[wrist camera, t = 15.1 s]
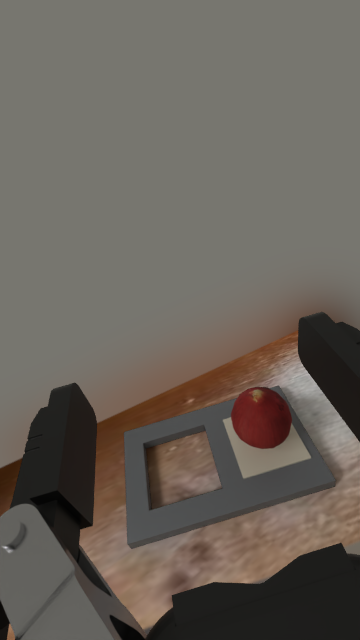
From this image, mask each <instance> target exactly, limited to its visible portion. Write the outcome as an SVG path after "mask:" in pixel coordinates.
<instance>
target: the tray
mask: <svg viewBox="0 0 360 640" xmlns="http://www.w3.org/2000/svg"><path fill="white" fill-rule="evenodd" d="M269 389H271V390H273V391H275V392H277V393H278V394H279V395H280V396H281V397H282V398H283V399H284V400H285V401H286V403H287V404H288V406H289V409H290V413H291V417H292V423H291V428H290V433H289V435H288V437H287V438H286V439H285V441H284V442H283V443H281V444H280V445H278V446H276V447H274V448H270V449H259V448H255V447H252V446H250V445H248V444H247V443H245V442H243V441H242V440H241V439H240V438H239V437H238V435H237V434H236V433H235V431H234V428H233V425H232V420H231V412H232V409H233V406H234V402H235V401H236V399H237V398H236V399H233V400H229V401H226V402H223V403H219V404H216V405H213V406H209V407H206V408H203V409H199V410H196V411H193V412H189V413H186V414H183V415H180V416H176V417H173V418H170V419H166V420H163V421H160V422H156V423H153V424H150V425H146V426H143V427H140V428H136V429H133V430H130V431H126V432H124V446H125V479H126V511H127V543H128V545H129V546H130V547H131V549H132V548H136V547H139V546H142V545H145V544H149V543H152V542H155V541H159V540H162V539H165V538H168V537H172V536H175V535H178V534H181V533H185V532H188V531H191V530H194V529H198V528H201V527H204V526H207V525H211V524H214V523H217V522H220V521H224V520H227V519H230V518H234V517H237V516H240V515H243V514H247V513H250V512H253V511H256V510H260V509H263V508H266V507H269V506H273V505H276V504H279V503H282V502H286V501H289V500H292V499H295V498H299V497H302V496H305V495H309V494H312V493H315V492H318V491H322V490H325V489H328V488H331V487H335V482H336V480H335V478H334V477H333V475H332V473H331V472H330V470H329V468H328V467H327V465H326V463H325V462H324V460H323V458H322V457H321V455H320V453H319V452H318V450H317V448H316V447H315V445H314V443H313V442H312V440H311V438H310V437H309V435H308V433H307V432H306V430H305V428H304V427H303V425H302V423H301V422H300V420H299V418H298V417H297V415H296V413H295V412H294V410H293V408H292V407H291V405H290V403H289V402H288V400H287V398H286V397H285V395H284V393H283V392H282V390H281V388H280V387H279V386H276V387H272V388H269ZM205 430H206V433H207V436H208V440H209V443H210V447H211V450H212V454H213V457H214V461H215V464H216V468H217V471H218V475H219V478H220V482H221V485H222V489H219V490H215V491H212V492H209V493H206V494H202V495H199V496H196V497H192V498H189V499H186V500H183V501H179V502H176V503H173V504H170V505H166V506H163V507H160V508H156V509H153V510H152V508H151V497H150V486H149V476H148V465H147V455H146V448H149V447H153V446H156V445H159V444H162V443H166V442H169V441H172V440H176V439H179V438H182V437H186V436H189V435H192V434H195V433H199V432H202V431H205Z"/></svg>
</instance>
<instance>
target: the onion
mask: <svg viewBox="0 0 360 640" xmlns="http://www.w3.org/2000/svg"><path fill="white" fill-rule="evenodd" d="M231 420H232V425H233V428H234V431H235V433H236V434H237V435H238V437H239V438H240V439H241V440H242V441H243V442H245V443H247V444H248V445H250V446H252V447H255V448H259V449H270V448H274V447H276V446H278V445H280V444H281V443H283V442H284V441H285V439H286V438H287V437H288V435H289V433H290V428H291V423H292V417H291V413H290V409H289V406H288V404H287V403H286V401H285V400H284V399H283V398H282V397H281V396H280V395H279V394H278V393H277V392H275V391H273V390H271V389H269V388H266V387H254V388H250V389H247V390H246V391H244V392H242V393H241V394H240V395H239V397H238V398H237V399H236V401H235V402H234V406H233V409H232V412H231Z"/></svg>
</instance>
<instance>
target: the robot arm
mask: <svg viewBox="0 0 360 640" xmlns="http://www.w3.org/2000/svg"><path fill="white" fill-rule="evenodd" d="M298 354H299V357H300V360H301V362H302V364H303V366H304V367H305V369H306V370H307V371H308V373H309V374H310V375H311V377H312V378H313V379H314V381H315V382H316V383H317V385H318V386H319V388H320V389H321V390H322V392H323V393H324V394H325V396H326V397H327V398H328V400H329V401H330V402H331V404H332V405H333V406H334V408H335V409H336V411H337V412H338V413H339V415H340V416H341V417H342V419H343V420H344V421H345V423H346V424H347V425H348V427H349V428H350V429H351V431H352V432H353V433H354V435H355V436H356V438H357V439H358V440H359V442H360V331H359V330H358V329H356V328H354V327H352V326H350V325H348V324H346V323H344V322H339V323H335V322H333V320H331V318H330V317H329V316H328V315H327V314H325V313H323V312H320V313H316V314H313V315H309V316H306V317H302V318H301V319H300V320H299V330H298ZM96 436H97V421H96V416H95V413H94V410H93V408H92V407H91V405H90V403H89V402H88V400H87V399H86V397H85V395H84V394H83V392H82V391H81V389H80V387H79V386H78V385H77V384H76V383H72V384H69V385H65V386H62V387H58V388H55V389H53V390H52V391H51V394H50V399H49V404H48V407H44V408H41V409H40V410H39V412H38V414H37V415H36V417H35V418H34V420H33V422H32V423H31V427H30V431H29V435H28V441H27V443H26V447H25V454H24V455H23V459H22V463H21V467H20V471H19V475H18V479H17V483H16V487H15V491H14V495H13V499H12V503H11V506H10V509H9V510H8V511H6V512H5V513H4V514H3V515H2V516H1V517H0V640H7V634H8V628H9V624H11V626H12V629H13V631H14V634H15V640H360V555H356V554H347V553H346V551H345V549H344V547H343V545H342V543H339V544H336V545H333V546H329V547H326V548H323V549H320V550H316V551H313V552H310V553H307V554H303V555H300V556H299V557H297V558H296V559H295V560H293V561H292V562H291V563H289V564H288V565H287V566H285V567H284V568H283V569H281V570H280V571H279V572H277V573H276V574H275V575H273V576H272V577H271V578H269V579H268V580H267V581H265V582H264V583H261V584H245V583H219V582H213V583H210V584H207V585H204V586H200V587H197V588H194V589H191V590H187V591H184V592H181V593H178V594H175V595H172V601H173V608H171V609H170V610H169V611H167V612H166V613H165V614H164V615H163V616H162V617H161V618H160V619H159V620H158V621H157V623H156V624H155V625H154V626H153V628H152V629H151V630H150V632H149V634H148V635H146V633H145V632H144V630H143V629H142V627H141V626H140V625H139V623H138V622H137V621H136V619H135V618H134V617H133V615H132V614H131V613H130V612H129V611H128V609H127V608H126V607H125V606H124V605H123V604H122V603H121V602H120V600H119V599H118V598H117V597H116V595H115V594H114V593H113V591H112V590H111V588H110V587H109V586H108V584H107V583H106V581H105V580H104V578H103V577H102V576H101V574H100V573H99V571H98V570H97V568H96V567H95V566H94V564H93V563H92V561H91V560H90V559H89V557H88V556H87V554H86V553H85V551H84V550H83V549H82V547H81V546H80V545H79V538H80V529H83V528H87V527H90V526H93V508H94V484H95V460H96Z"/></svg>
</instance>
